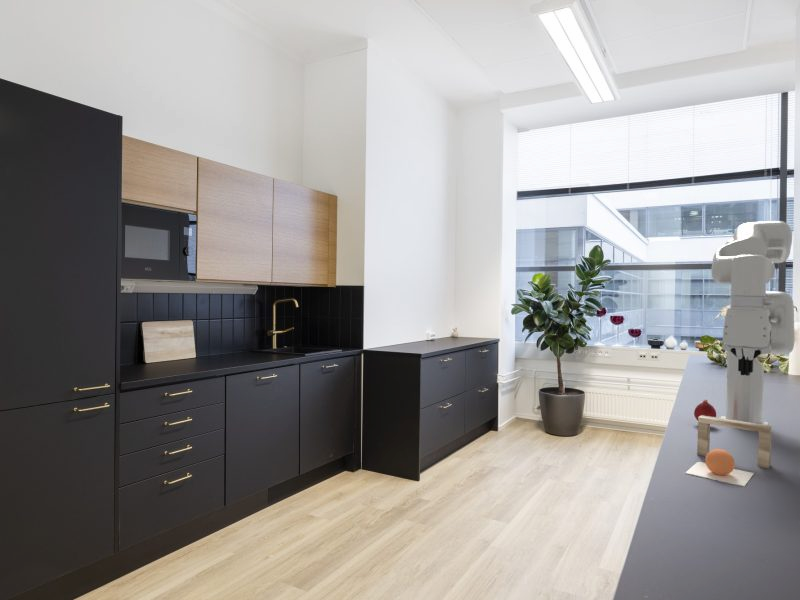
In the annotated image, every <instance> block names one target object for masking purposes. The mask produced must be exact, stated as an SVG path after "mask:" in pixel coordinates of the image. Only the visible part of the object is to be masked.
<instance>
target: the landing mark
mask: <svg viewBox="0 0 800 600" xmlns="http://www.w3.org/2000/svg"><path fill="white" fill-rule="evenodd" d="M684 474H685V475H690V476H695V477H699V478H702V479H703V478H704V479H707V478H708V480H713V481H716V480H717V482H721V483H726V484H731V485H734V486H735V485H736V486H739V487H744V488H745V487H746V485H747V484H748V483H749V481H750V480H751V479H752V477H753V476H754V474H755V472H750V471H746V470H741V469H738V468H737V469H735V468H734V469H733V471H732V472H731V473H729V474H727V475H717V474H715V473H713V472H711V471H710V470H709V469H708V467H707V465H706V462H704V461H703V462H702V461H697V462H696V463H694V465H692V466H691V467H690V468H689V469H688V470H687V471H686V472H684Z"/></svg>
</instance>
